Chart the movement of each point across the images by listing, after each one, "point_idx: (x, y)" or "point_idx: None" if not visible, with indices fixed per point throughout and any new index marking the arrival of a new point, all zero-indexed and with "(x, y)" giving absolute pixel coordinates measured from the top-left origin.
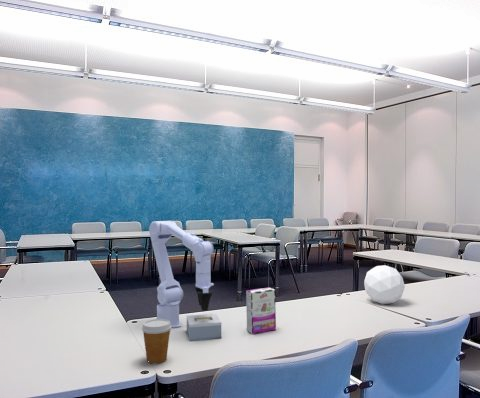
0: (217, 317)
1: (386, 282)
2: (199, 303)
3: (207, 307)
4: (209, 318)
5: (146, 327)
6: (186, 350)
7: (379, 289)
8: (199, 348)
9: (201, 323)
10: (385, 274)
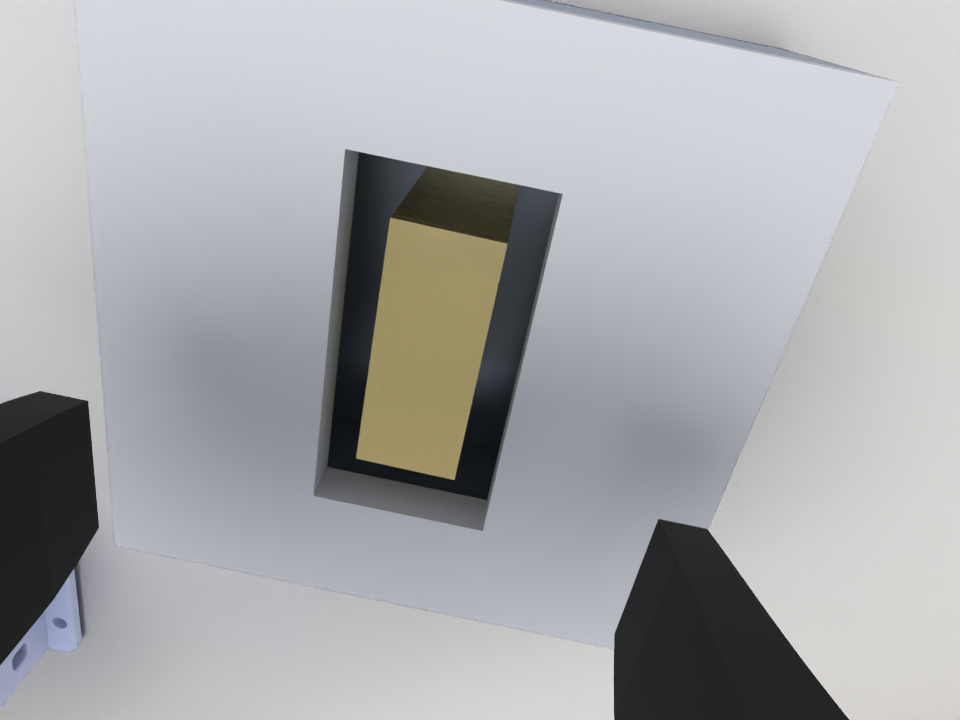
0: (439, 18)
1: None
2: (61, 576)
3: (739, 597)
4: (406, 222)
5: None
6: (903, 596)
7: None
8: (950, 470)
9: (703, 491)
10: None
